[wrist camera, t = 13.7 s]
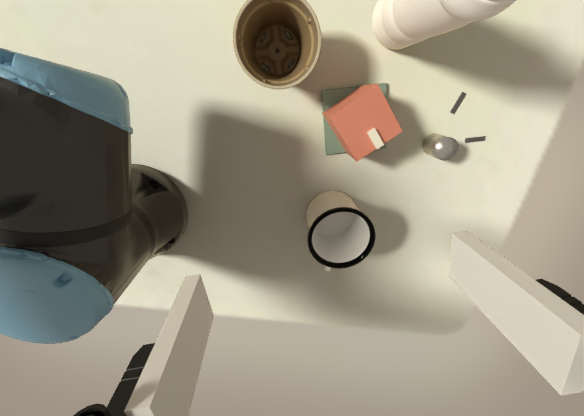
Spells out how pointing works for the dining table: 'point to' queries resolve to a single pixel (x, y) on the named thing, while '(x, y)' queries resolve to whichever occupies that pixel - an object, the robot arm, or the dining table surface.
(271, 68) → the flower pot
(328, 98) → the pad
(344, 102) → the orange box with tab
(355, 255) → the mug
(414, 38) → the water bottle
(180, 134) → the dining table surface
